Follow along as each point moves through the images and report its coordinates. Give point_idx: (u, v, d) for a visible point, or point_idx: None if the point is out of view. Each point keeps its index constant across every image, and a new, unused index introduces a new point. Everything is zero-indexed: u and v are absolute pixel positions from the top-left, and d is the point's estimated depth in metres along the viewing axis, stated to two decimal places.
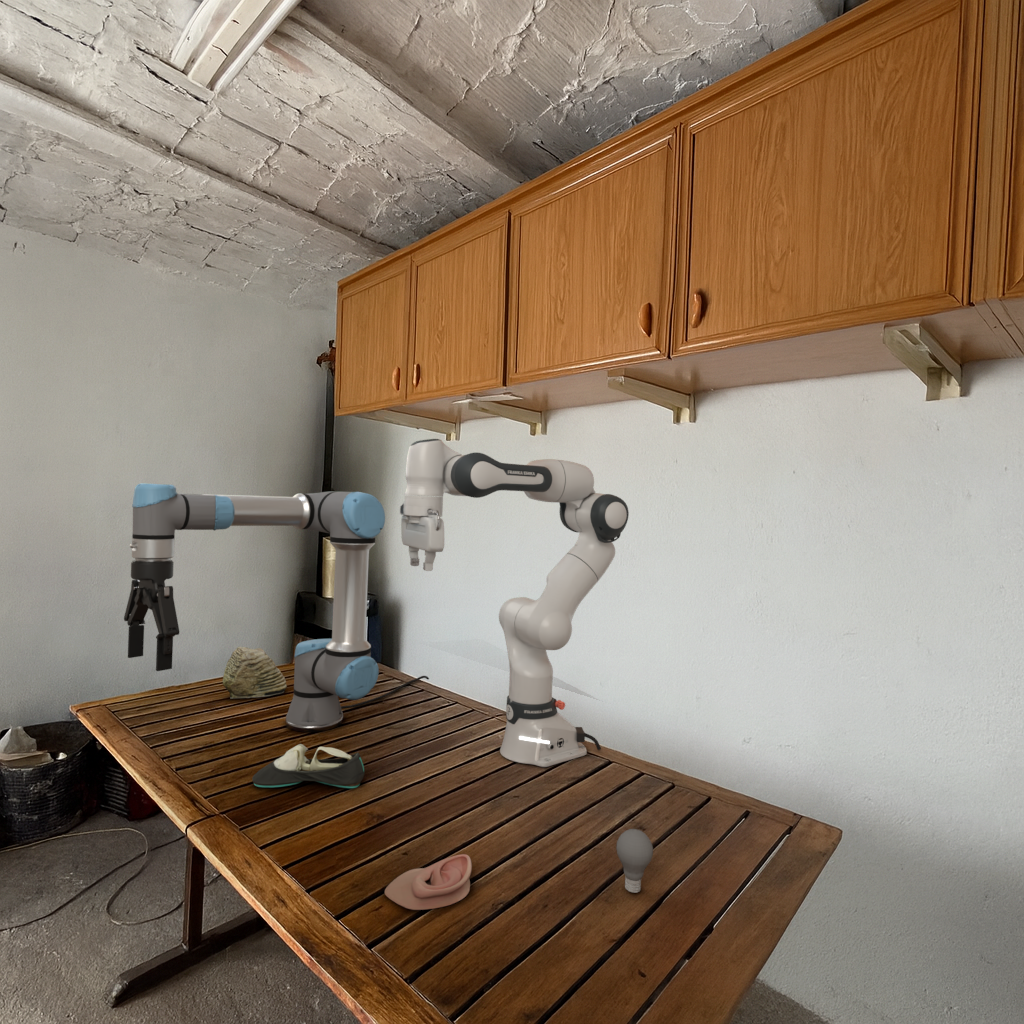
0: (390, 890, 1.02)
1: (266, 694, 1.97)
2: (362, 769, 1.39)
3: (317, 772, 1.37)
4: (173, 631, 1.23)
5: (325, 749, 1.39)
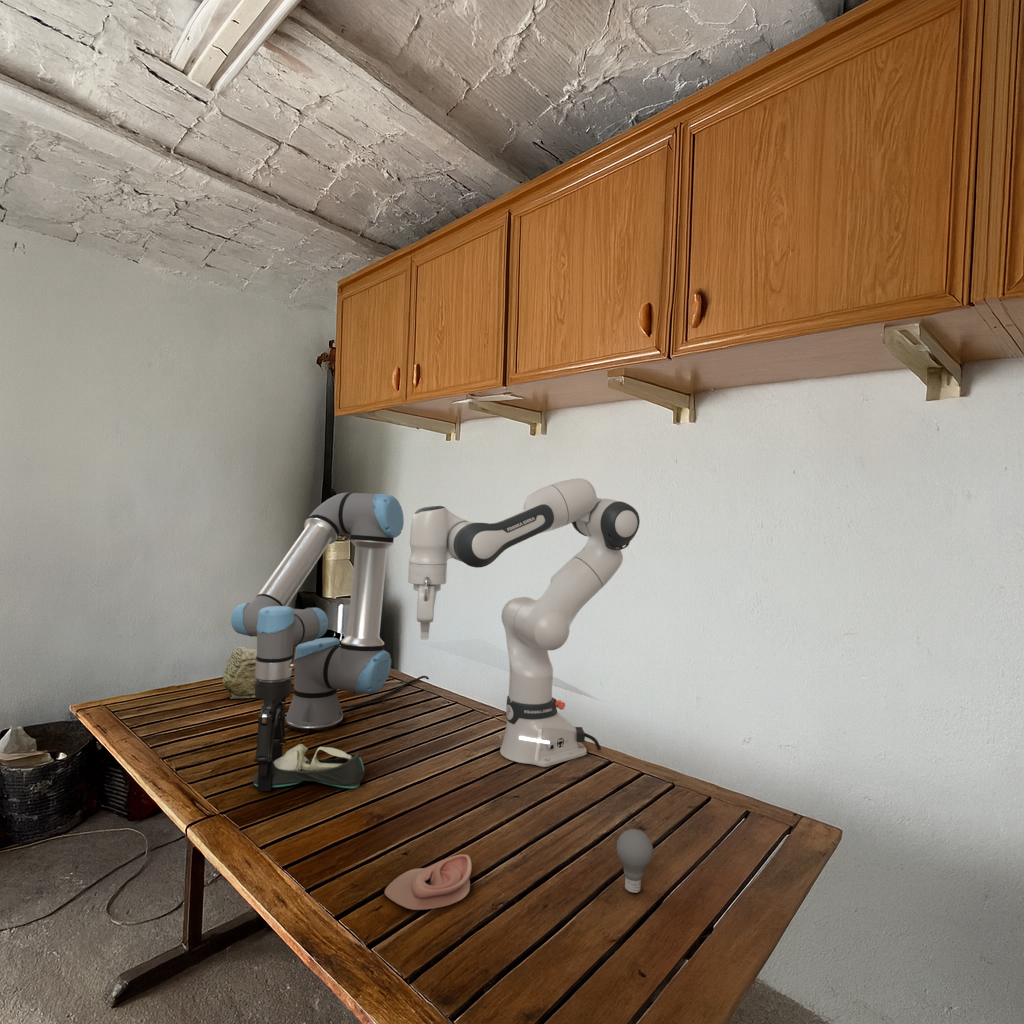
0: (390, 890, 1.02)
1: None
2: (362, 769, 1.39)
3: (317, 772, 1.37)
4: None
5: (325, 749, 1.39)
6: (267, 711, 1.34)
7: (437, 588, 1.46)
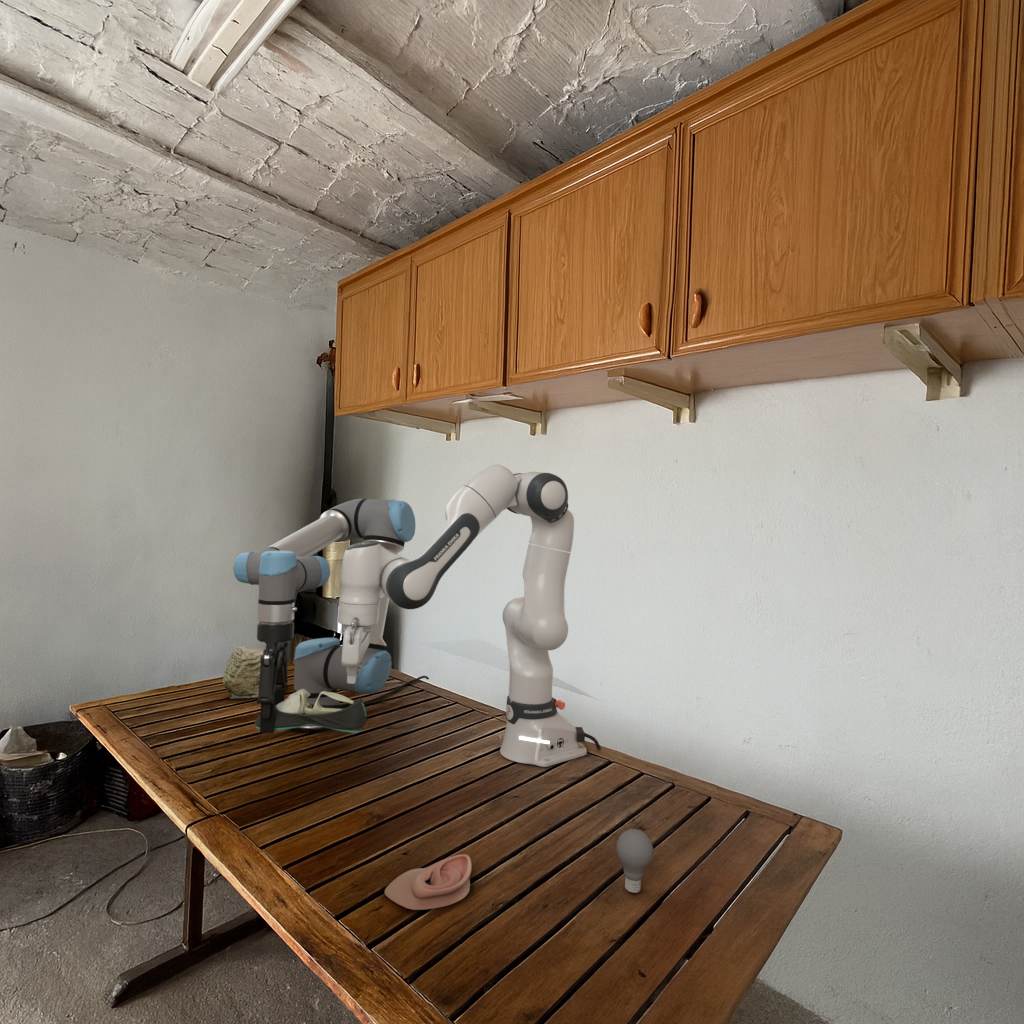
0: (390, 890, 1.02)
1: None
2: (364, 714, 1.39)
3: (319, 716, 1.36)
4: None
5: (327, 693, 1.39)
6: (269, 653, 1.34)
7: (367, 629, 1.39)
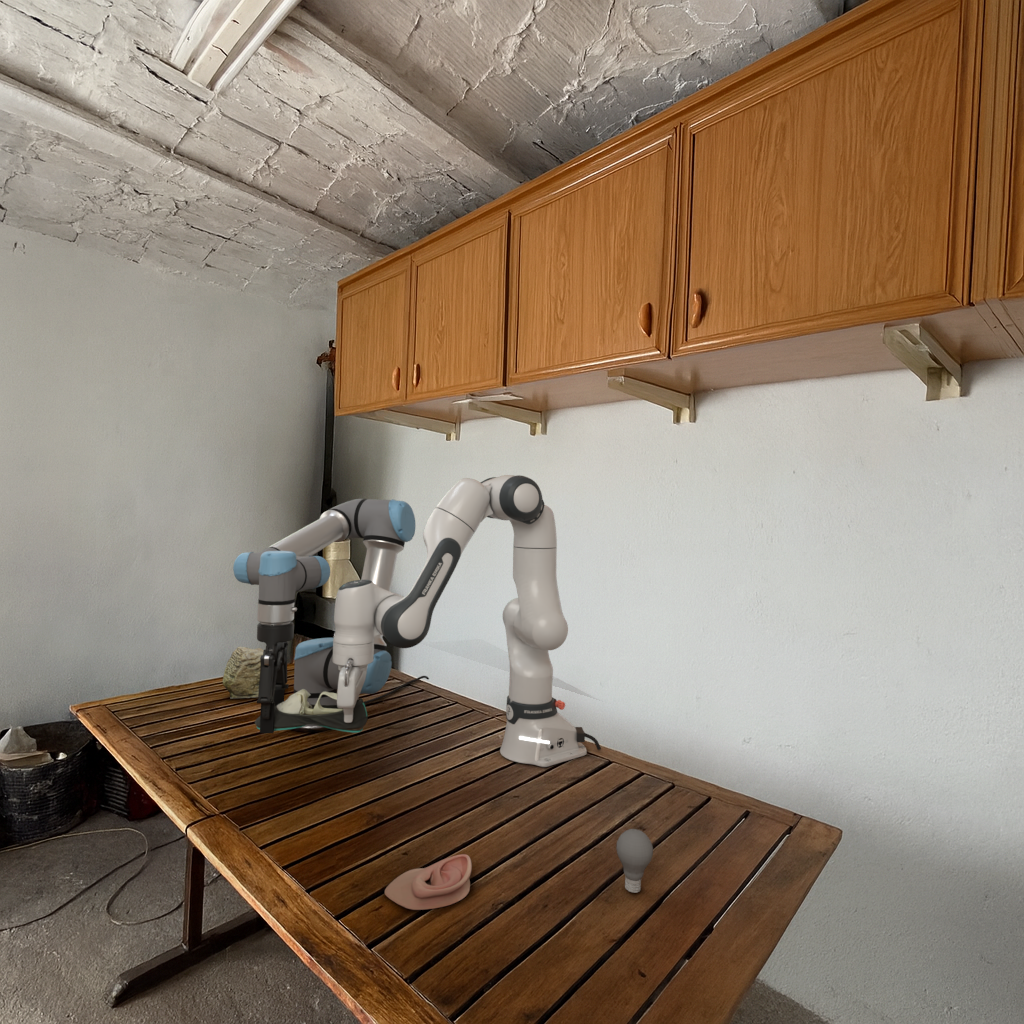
0: (390, 890, 1.02)
1: None
2: (365, 714, 1.40)
3: (320, 716, 1.37)
4: None
5: (328, 694, 1.39)
6: (269, 653, 1.34)
7: (362, 668, 1.39)
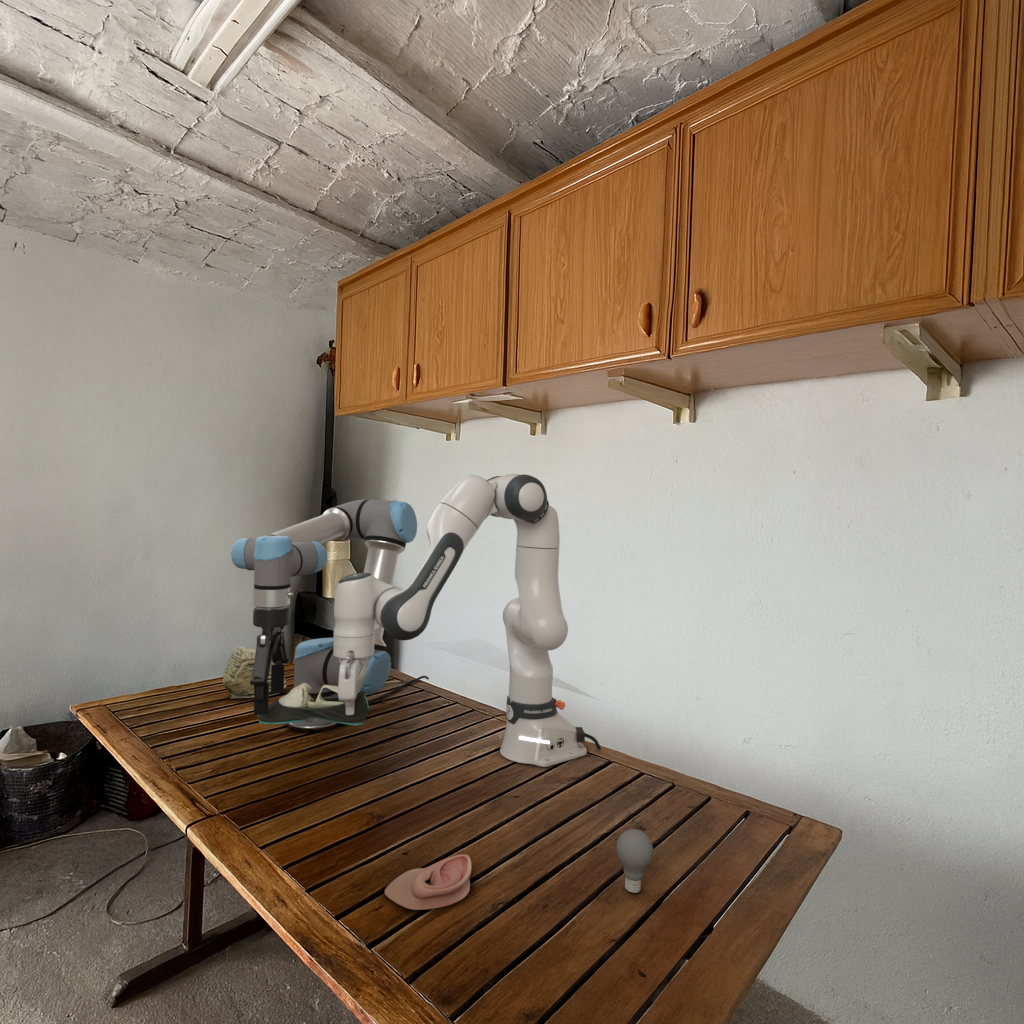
0: (390, 890, 1.02)
1: None
2: (367, 707, 1.40)
3: (322, 709, 1.37)
4: None
5: (330, 687, 1.39)
6: None
7: (363, 661, 1.39)
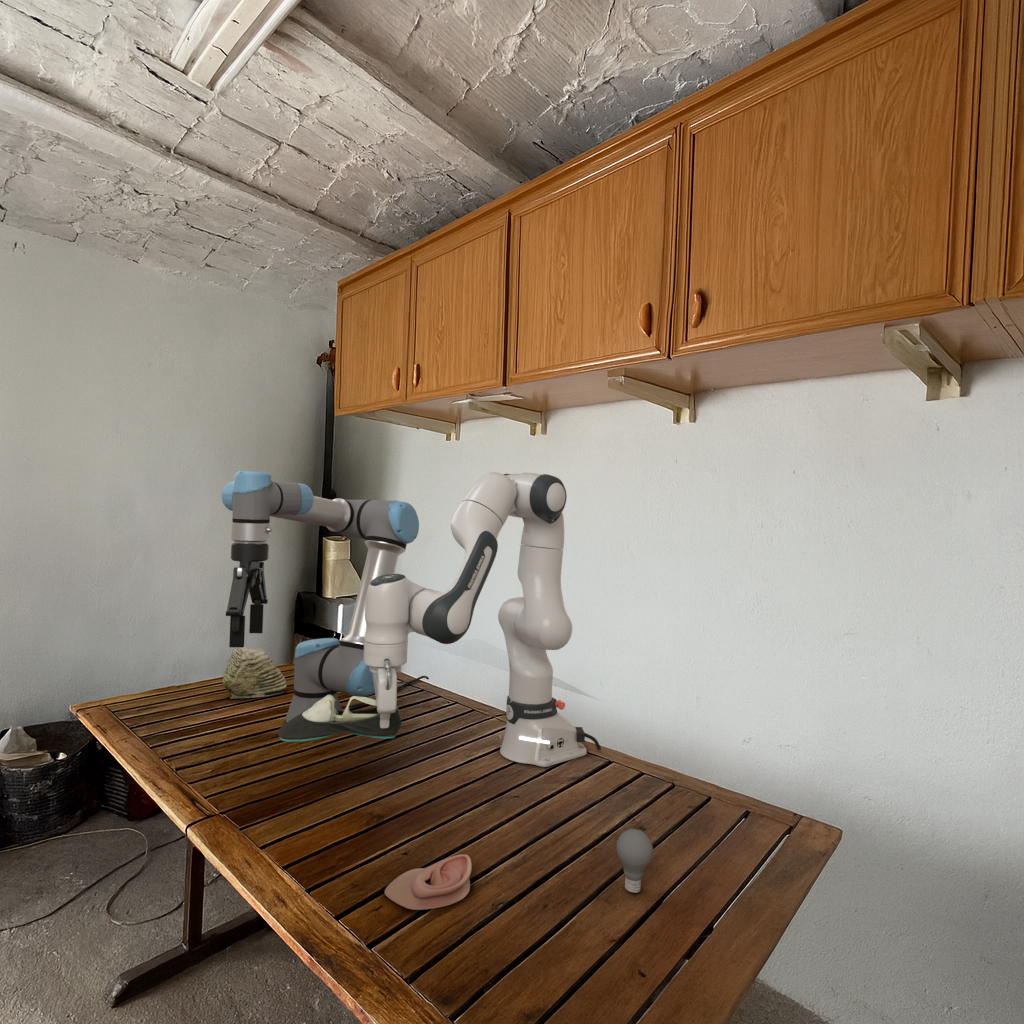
0: (390, 890, 1.02)
1: (266, 694, 1.97)
2: (399, 718, 1.30)
3: (353, 723, 1.26)
4: None
5: (359, 698, 1.28)
6: None
7: (397, 669, 1.29)
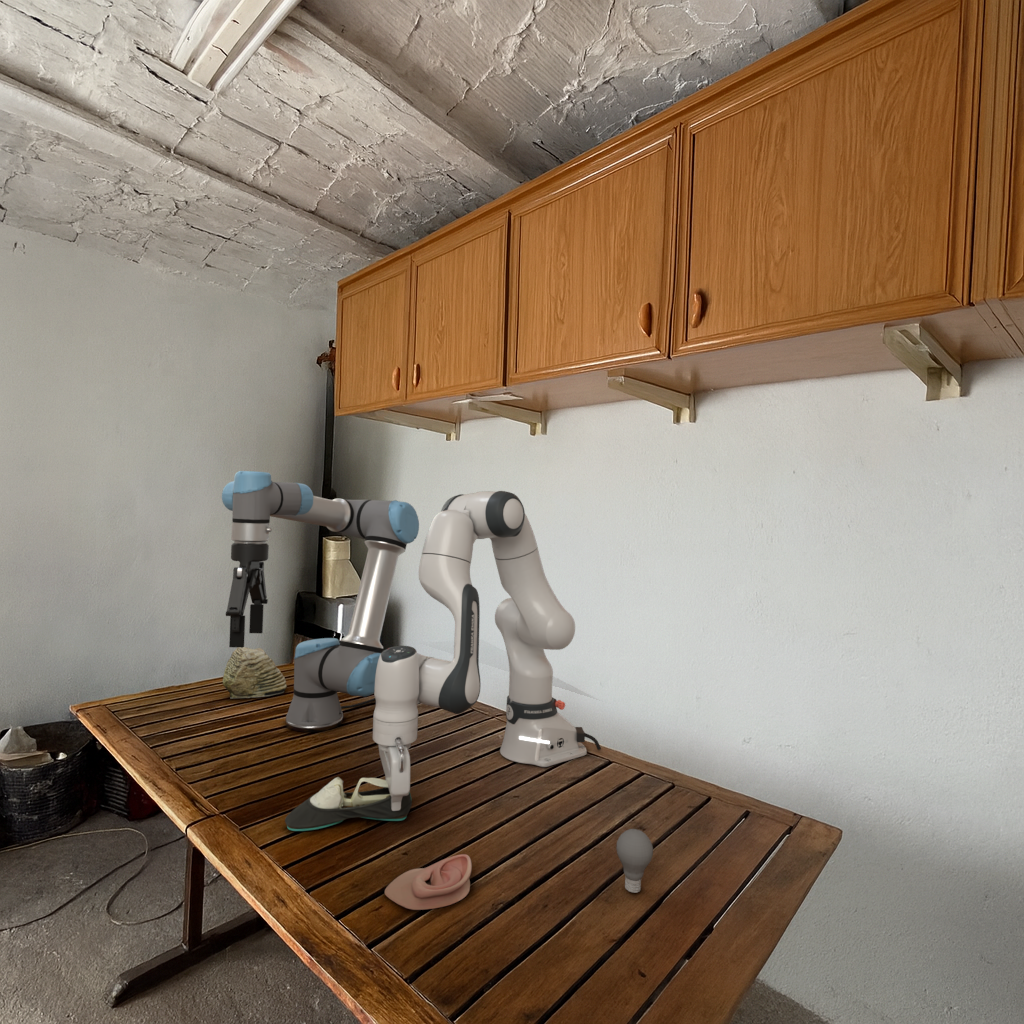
0: (390, 890, 1.02)
1: (266, 694, 1.97)
2: (410, 798, 1.27)
3: (363, 807, 1.22)
4: None
5: (369, 780, 1.25)
6: None
7: (408, 746, 1.25)
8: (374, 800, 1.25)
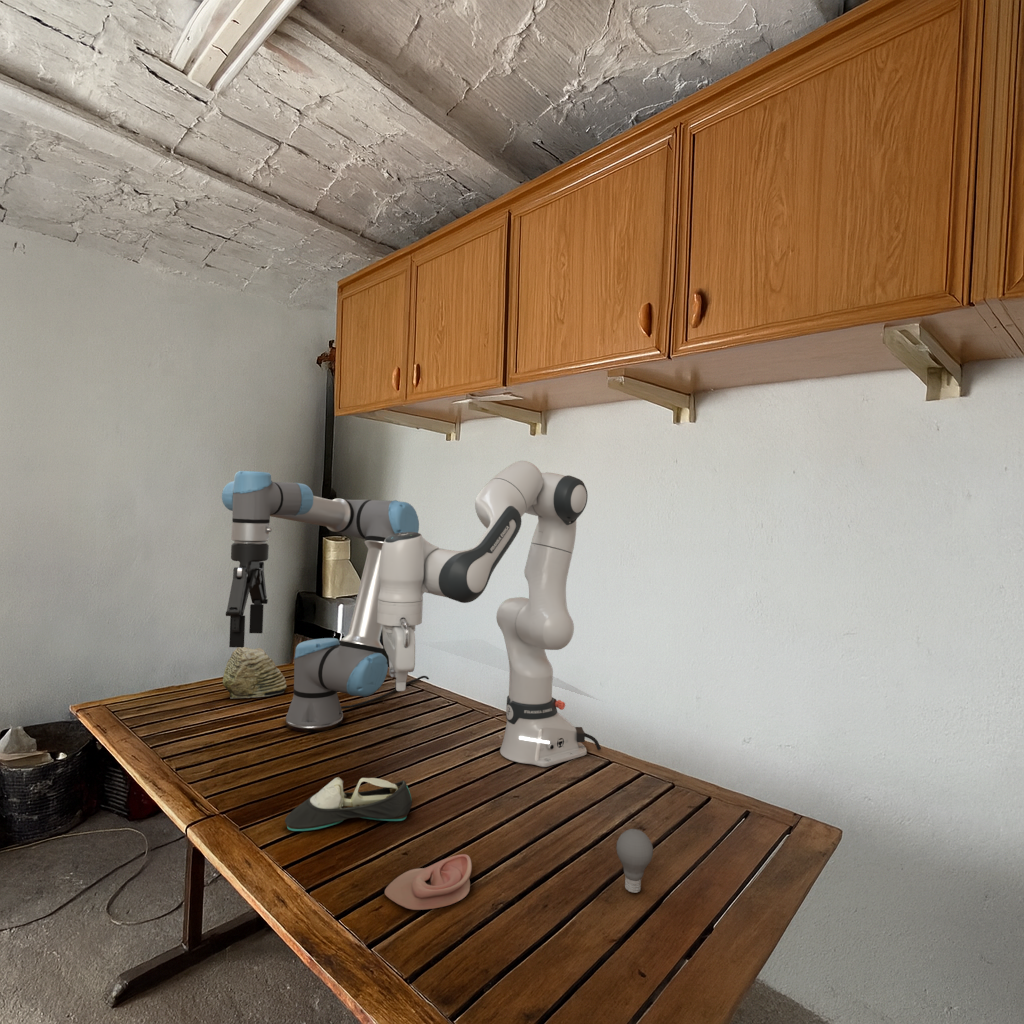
0: (390, 890, 1.02)
1: (266, 694, 1.97)
2: (410, 798, 1.27)
3: (363, 807, 1.22)
4: None
5: (369, 780, 1.25)
6: None
7: (413, 629, 1.25)
8: (374, 800, 1.25)
